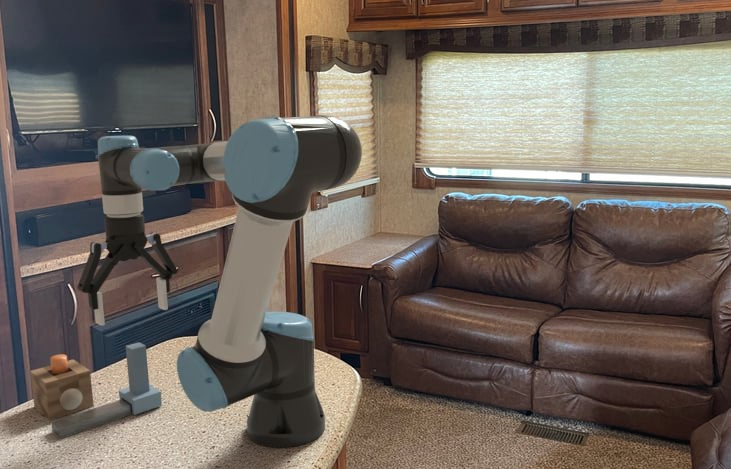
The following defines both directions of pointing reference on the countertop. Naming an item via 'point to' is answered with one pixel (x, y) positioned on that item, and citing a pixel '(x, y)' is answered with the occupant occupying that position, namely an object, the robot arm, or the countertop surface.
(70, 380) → the wooden box
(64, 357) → the orange rounded cylinder
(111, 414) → the rail
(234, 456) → the countertop surface
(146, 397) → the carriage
